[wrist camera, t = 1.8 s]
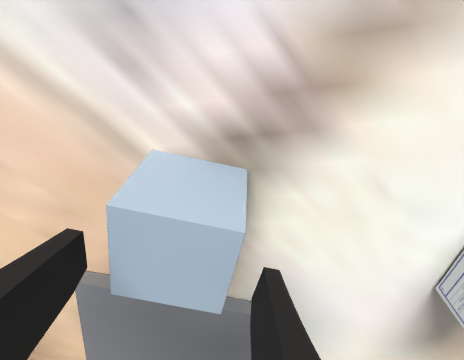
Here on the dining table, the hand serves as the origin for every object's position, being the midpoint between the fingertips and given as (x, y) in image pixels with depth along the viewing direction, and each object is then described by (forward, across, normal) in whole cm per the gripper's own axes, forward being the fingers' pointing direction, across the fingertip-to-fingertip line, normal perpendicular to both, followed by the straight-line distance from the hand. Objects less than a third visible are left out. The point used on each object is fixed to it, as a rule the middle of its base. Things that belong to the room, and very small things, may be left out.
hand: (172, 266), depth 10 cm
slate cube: (+5, 0, 0) cm, 5 cm away
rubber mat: (+5, 0, +16) cm, 17 cm away
